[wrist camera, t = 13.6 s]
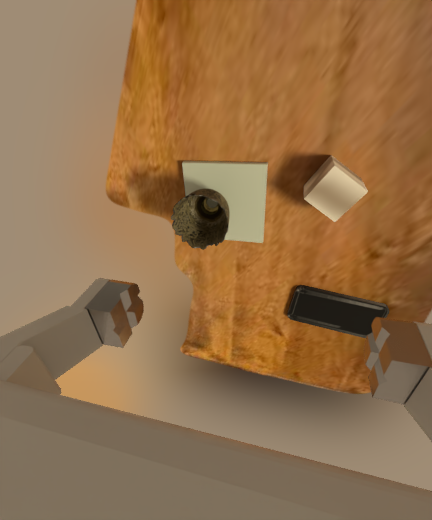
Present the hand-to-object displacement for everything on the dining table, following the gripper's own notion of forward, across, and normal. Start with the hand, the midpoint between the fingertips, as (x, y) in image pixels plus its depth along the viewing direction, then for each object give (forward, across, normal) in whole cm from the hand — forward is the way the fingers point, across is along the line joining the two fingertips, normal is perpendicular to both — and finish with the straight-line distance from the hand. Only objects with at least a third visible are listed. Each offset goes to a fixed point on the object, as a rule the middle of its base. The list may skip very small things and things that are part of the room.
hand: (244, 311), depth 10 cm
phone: (+32, -11, +29) cm, 45 cm away
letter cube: (+32, -6, +6) cm, 33 cm away
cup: (+31, +10, +10) cm, 34 cm away
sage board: (+32, +8, +10) cm, 34 cm away
